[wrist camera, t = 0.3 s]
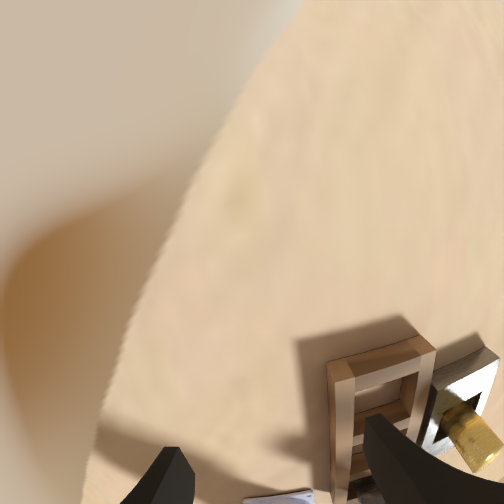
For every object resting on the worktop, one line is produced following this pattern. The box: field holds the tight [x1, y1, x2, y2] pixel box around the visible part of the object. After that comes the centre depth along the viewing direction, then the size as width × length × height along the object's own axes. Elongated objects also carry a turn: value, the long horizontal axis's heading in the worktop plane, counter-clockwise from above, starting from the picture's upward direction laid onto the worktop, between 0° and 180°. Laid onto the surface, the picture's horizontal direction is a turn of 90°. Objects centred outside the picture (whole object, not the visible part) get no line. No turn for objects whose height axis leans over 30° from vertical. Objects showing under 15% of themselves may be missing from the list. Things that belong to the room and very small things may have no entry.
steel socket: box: [416, 347, 500, 457], centre depth 20 cm, size 12×8×2 cm, turn 10°
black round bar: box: [352, 475, 386, 504], centre depth 19 cm, size 4×4×9 cm
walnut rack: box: [326, 335, 436, 504], centre depth 20 cm, size 21×8×2 cm, turn 10°
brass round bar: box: [439, 400, 504, 473], centre depth 17 cm, size 4×4×9 cm
